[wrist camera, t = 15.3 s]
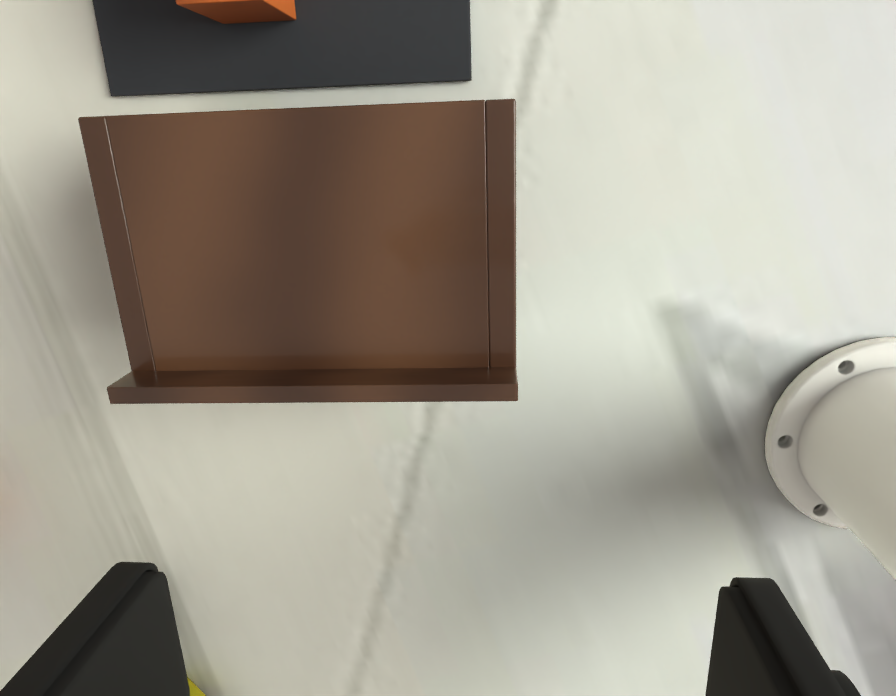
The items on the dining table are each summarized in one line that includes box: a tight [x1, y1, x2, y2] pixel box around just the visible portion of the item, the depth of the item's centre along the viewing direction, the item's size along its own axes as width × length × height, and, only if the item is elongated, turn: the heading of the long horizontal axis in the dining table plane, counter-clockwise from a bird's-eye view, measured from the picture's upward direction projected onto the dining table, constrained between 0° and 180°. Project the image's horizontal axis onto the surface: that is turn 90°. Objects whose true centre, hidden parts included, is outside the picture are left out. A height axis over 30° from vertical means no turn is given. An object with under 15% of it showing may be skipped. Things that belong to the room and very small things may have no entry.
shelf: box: [78, 99, 518, 404], centre depth 31 cm, size 18×12×12 cm, turn 92°
